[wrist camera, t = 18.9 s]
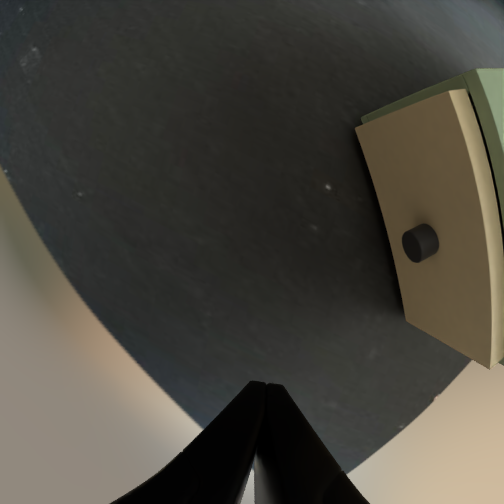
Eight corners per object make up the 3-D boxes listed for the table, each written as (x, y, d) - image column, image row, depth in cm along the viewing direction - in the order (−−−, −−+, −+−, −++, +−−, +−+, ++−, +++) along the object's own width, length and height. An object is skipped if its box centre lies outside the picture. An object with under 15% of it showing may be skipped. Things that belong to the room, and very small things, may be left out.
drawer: (391, 329, 19) (474, 384, 11) (336, 132, 16) (427, 93, 9) (514, 246, 20) (585, 260, 13) (483, 100, 18) (558, 83, 10)
